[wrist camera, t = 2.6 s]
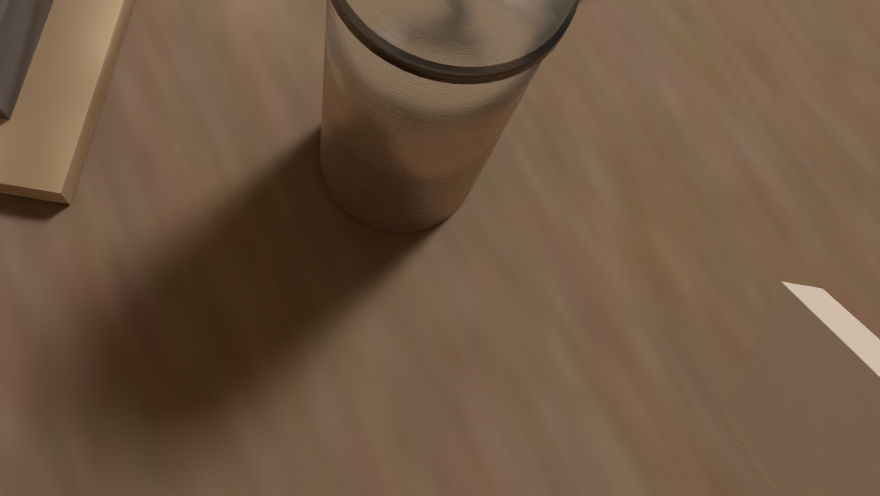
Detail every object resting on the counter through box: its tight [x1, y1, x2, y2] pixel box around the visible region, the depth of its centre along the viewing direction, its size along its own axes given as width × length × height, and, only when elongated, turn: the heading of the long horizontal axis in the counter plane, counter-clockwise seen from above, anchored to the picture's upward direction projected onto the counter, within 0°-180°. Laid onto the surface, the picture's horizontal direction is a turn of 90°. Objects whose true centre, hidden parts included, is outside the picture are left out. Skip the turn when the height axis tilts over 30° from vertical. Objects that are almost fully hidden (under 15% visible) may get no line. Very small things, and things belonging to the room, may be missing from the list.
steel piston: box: [320, 0, 579, 233], centre depth 22 cm, size 6×6×12 cm
